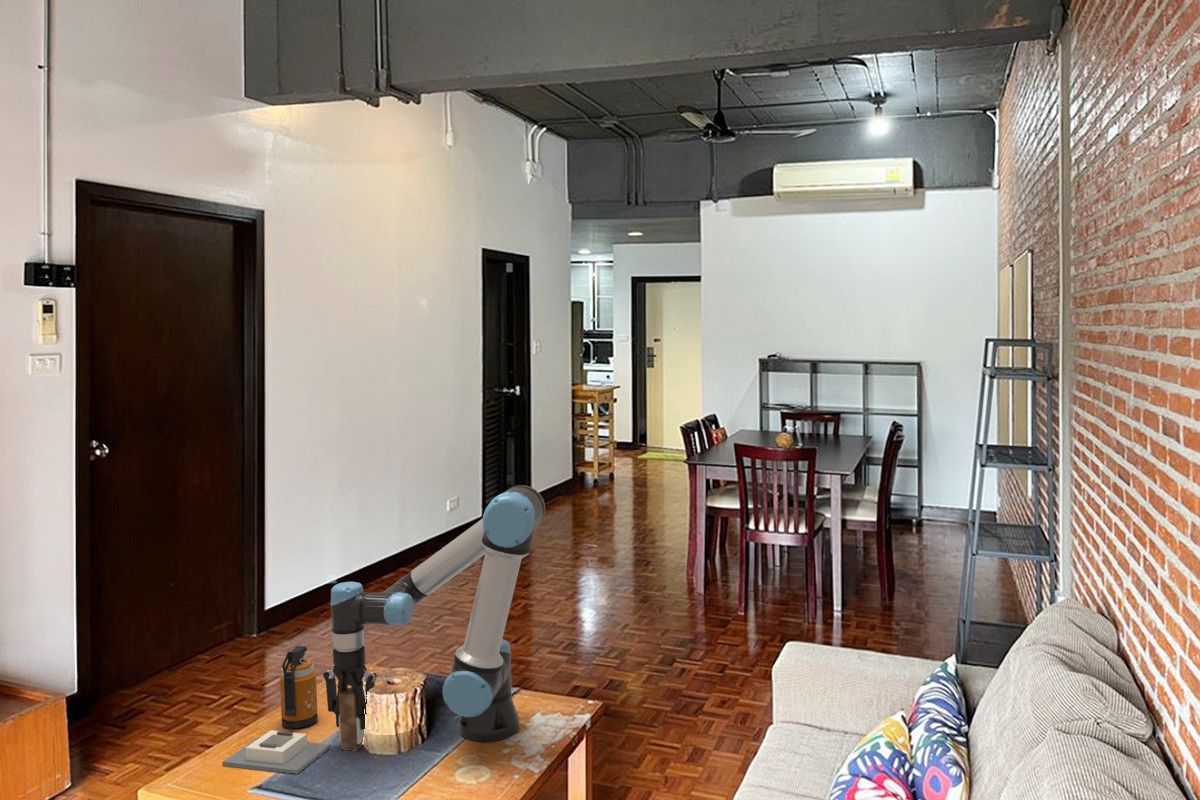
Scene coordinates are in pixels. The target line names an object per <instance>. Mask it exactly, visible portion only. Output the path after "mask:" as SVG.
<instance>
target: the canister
mask: <svg viewBox="0 0 1200 800" xmlns="http://www.w3.org/2000/svg"><path fill="white" fill-rule="evenodd" d="M307 651H308V647H306V646H305V645H296V646H294V648H293V649H292V650H290V651H287V653H286V655H285V658H284V660H283V661H282V665H281V675H280V677H279V689H280V690H279V691H280V712H281V713H280V715H281V725H282V726H284V727H285V728H292V729H298V728H299V729H300V728H304V727H305V728H306V727H308V726H310V725H312V724H314V723H316V721H318V720H319V719H318V718H319V717H318V715H319V713H318V695H317V694H318V690H317V672H316V671H315V670H314V663H313V662H312V660H310V659H307V658H304V656H306V652H307Z"/></svg>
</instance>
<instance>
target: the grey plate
mask: <svg viewBox="0 0 1200 800" xmlns="http://www.w3.org/2000/svg"><path fill="white" fill-rule="evenodd" d="M329 748H330V749H331V744H328V743H322V742H321V743H318V742H310V741H308V734H307V733H302V732H301V733H300V732H292V731H291V732H290V731H281V730H269V731H267V733H265V734H263V735H262V736H258V737H256V738H255V739H253V740H252V741H250V742H249V743H248V744H246V745H245V746H243V747H242V748H240V749H238V750H237V751H236V752H235V753H233V754H231V755H229V757H227V758H225V759H224V760H223V761H222V763H221V764H222V767H228V768H229V767H230V768H237V769H248V770H253V771H254V770H255V771H265V772H272V773H273V772H274V773H279V772H287V773H286V774H288V773H295V774H294V775H296V774H298V773H299V772H300V771H301V772H302V770H303V769H304V768H305V767H306V768H308V767H309V766H310V765H312V762H313V761H314V760H315V759H316V760H318V759H319V758H320V757H322V756H323V755H324V754H325V753H326V752H327V751H326V750H328V749H329ZM330 749H329V750H330ZM329 750H328V751H329ZM324 752H325V753H324ZM323 753H324V754H323ZM322 754H323V755H322ZM318 757H319V758H318ZM317 758H318V759H317ZM316 760H315V761H316ZM315 761H314V762H315ZM314 762H313V763H314ZM309 764H310V765H309ZM308 765H309V766H308ZM307 766H308V767H307ZM306 768H305V769H306ZM305 769H304V770H305ZM304 770H303V771H304ZM301 772H300V773H301ZM300 773H299V774H300ZM299 774H298V775H299Z"/></svg>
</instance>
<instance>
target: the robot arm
mask: <svg viewBox="0 0 1200 800" xmlns="http://www.w3.org/2000/svg"><path fill="white" fill-rule="evenodd" d="M545 514H546V505H545V500H544V498H543V497H542V495H541V493H540V492H539V491H538V490H536V489H535V488H533V487H531V486H529V485H521V484H519V485H515V486H512V487H510V488H508V489H507V490H505V491H504V492H502V493H500V494H498V495H497V496H496V495H495V496H494V498H493V499H492V500H491V501H490V502H489V503H488V505H487V507H486V508H485V510H484V513H483V515H482V518H481V519H480V520H478V521H477V522H476V523H474V524H473V525H472V526H470V527H469V528H468V529H466V530H465V531H464V532H462V533H461V534H459V535H458V536H456V538H454V539H453V540H451V541H450V542H449V543H447V544H446V545H445V546H443V547H441V549H440V550H438V551H437V552H435V553H434V554H433V555H431V556H430V557H428V559H426V560H424V561H423V562H421V563H420V564H419V565H418V566H416V567H415V568H413V570H411V571H410V572H408V573H407V574H405V575H404V576H402V577H401V578H399V579H398V580H397V581H396V582H395V583H393V584H392V585H391V586H389V587H388V588H387V589H386V590H384V591H382V592H367V591H364V588H363V584H361V583H360V582H356V581H345V582H340V583H337V584H335V585H334V586H333V587H332V588H331V589H330V604H329V605H330V611H331V635H332V637H331V638H332V648H333V649H332V659H333V660H332V663H333V667H332V669H331V668H329V669H328V670H326V671H325V672H323V674H322V675H323V678H324V680H325V687H326V700H327V711H328V712H329V713H334V714H335V725H336V728H338V730H339V731H338V733H339V734H338V735H339V743H341V733H340V709H339V693H340V692H344V691H345V690H346V689H347V688H349V686H350V688H352V690H353V692H354V694H355V697H356V705H357V710H358V714H359V716H357V717H356V730H357V744H360V743H361V742H363V737H364V729H365V714H367V713H366V704H367V699H366V702H365V692H366V695H367V691H369V689H371V688H373V687H374V686H375V683H376V679H377V677H378V675H377V674H378V673H376V672H370V671H368V669H367V667H366V649H365V646H364V645H365V625H382V626H383V625H384V626H386V625H387V626H399V625H400V626H401V625H407V624H409V623H410V622H411V620H412V618H413V615H414V607H416V605H418V604H419V603H420V602H422V601H423V600H424V599H426V598H427V597H428V596H430V595H431V594H432V593H434V591H436V590H437V589H439V588H441V586H443V585H445V584H446V583H447V582H448V581H450V580H452V579H453V578H454V577H455V576H457V575H459V574H460V573H461V572H462V571H464V570H465V569H466V568H468V567H469V566H470V565H472V564H474V563H475V562H476V561H478V560H479V559H480V558H482V557H483V556H484V557H483V562H482V567H481V569H480V570H481V571H480V575H479V579H478V584H477V588H476V591H475V592H476V593H475V596H474V600H473V605H472V609H471V613H470V618H469V622H468V626H467V628H466V629H467V630H466V634H465V638H464V643H463V645H461V646H460V647H458V648H456V650H455V654H454V657H453V661H452V665H451V669H450V673H449V675H448V676H447V677H446V678H445V680H444V682H443V686H442V697H443V701H444V703H445V704H446V705H447V707H448V708H449V710H451V712H453V713H454V714H457V715H458V716H460V719H459V722H458V723H459V724H458V726H459V727H458V728H459V734H460V735H461V736H462V737H463V738H465V739H467V740H470V741H475V742H495V741H501V740H504V739H507V738H509V737H512V736H514V735H515V734H516V733H517V732H518V731H519V729H520V717H519V715H518V712H517V709H516V706H515V703H514V701H513V697H512V695H513V694H512V666H511V665H512V664H511V663H512V661H511V660H512V659H511V656H512V655H511V654H512V651H511V644H510V643H509V641H508V640H506V639H504V638H503V637H504V633H505V629H506V625H507V621H508V617H509V613H510V609H511V606H512V600H513V598H514V597H513V596H514V592H515V588H516V584H517V579H518V575H519V571H520V567H521V563H522V559H524V558H525V557H527V556H529V555H530V552H531V548H532V546H533V540H534V536H535V532H536V529H537V528H538V527H539V526H540V525H541V523H542V522H543V520H544V517H545ZM336 678H337V680H338V681H336ZM363 679H364V681H363ZM364 682H365V686H364ZM364 687H365V688H364ZM366 697H367V696H366ZM364 709H365V714H364ZM365 730H366V729H365Z"/></svg>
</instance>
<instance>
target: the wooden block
mask: <svg viewBox="0 0 1200 800" xmlns="http://www.w3.org/2000/svg"><path fill="white" fill-rule="evenodd" d="M339 709H340V733H341V742H340V750H341V749H349V750H357V749H358V748H359V747H360V746H361V744H362V742H361V743H360V744H357V730H356V717H357V716H359V714H358V710H357V705H356V697H355V694H354V692H353V690H352V688H351V687H347V689H346V690H345V691H344V692H340V693H339ZM360 748H361V747H360ZM360 748H359V749H360ZM359 749H358V750H359ZM358 750H357V751H358Z"/></svg>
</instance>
